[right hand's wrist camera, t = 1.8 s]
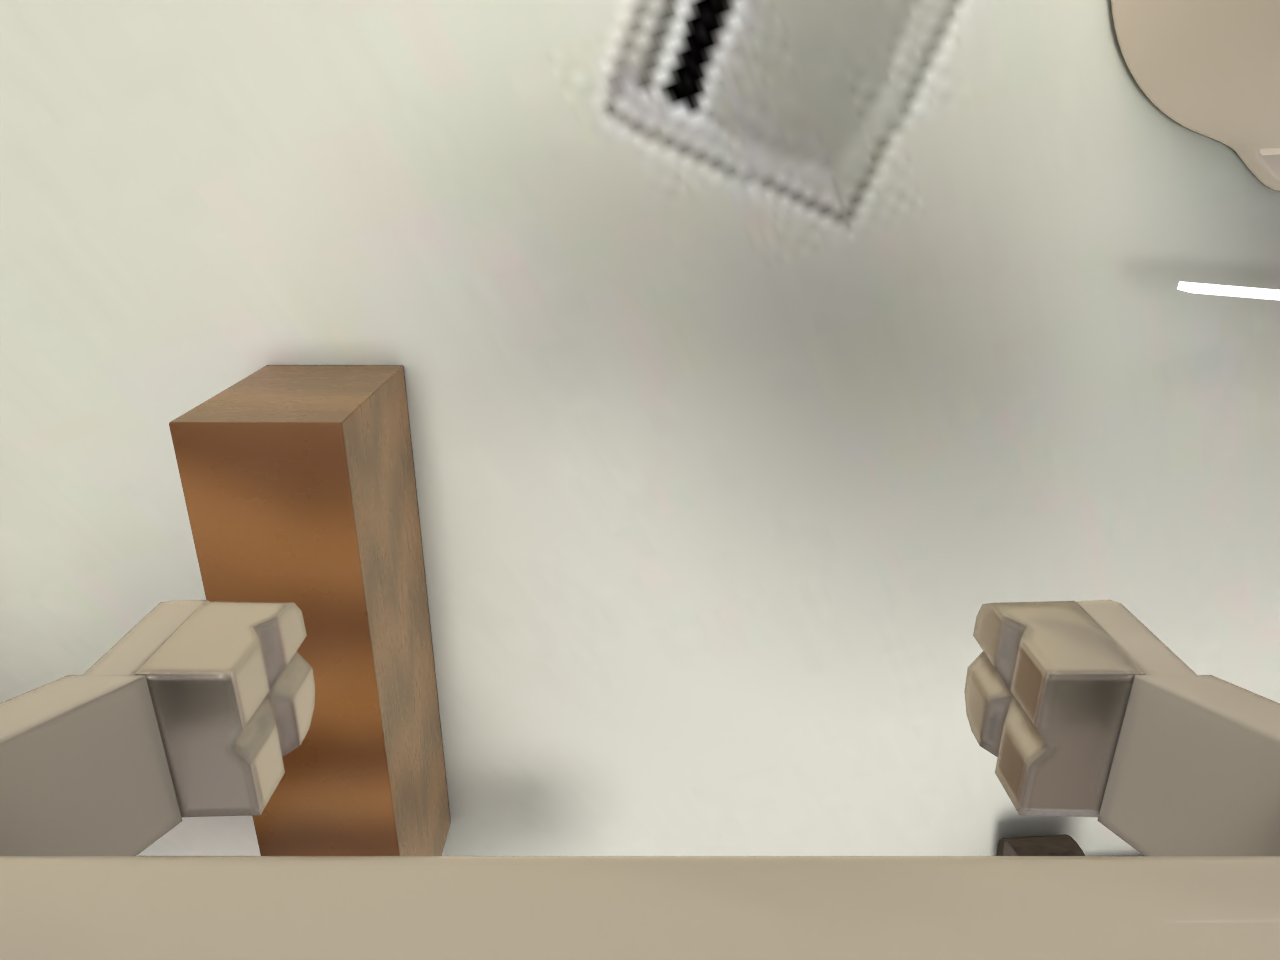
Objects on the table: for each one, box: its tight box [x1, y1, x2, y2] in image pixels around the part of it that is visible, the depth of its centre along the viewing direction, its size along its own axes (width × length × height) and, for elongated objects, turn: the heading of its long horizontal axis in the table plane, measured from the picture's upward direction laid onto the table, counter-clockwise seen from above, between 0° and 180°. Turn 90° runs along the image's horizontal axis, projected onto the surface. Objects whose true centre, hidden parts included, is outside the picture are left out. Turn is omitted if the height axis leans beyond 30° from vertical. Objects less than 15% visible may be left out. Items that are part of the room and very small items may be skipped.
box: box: [169, 365, 450, 856], centre depth 41 cm, size 28×6×9 cm, turn 0°
